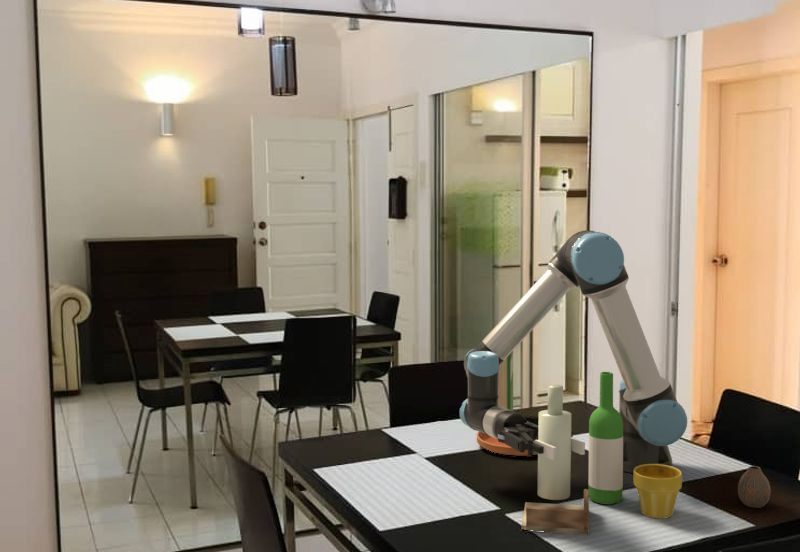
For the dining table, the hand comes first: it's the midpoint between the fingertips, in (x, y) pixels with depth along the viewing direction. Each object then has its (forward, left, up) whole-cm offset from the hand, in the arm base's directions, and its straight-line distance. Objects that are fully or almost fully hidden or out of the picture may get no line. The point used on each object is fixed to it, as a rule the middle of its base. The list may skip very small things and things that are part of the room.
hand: (569, 451), depth 187 cm
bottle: (+3, -4, -11) cm, 12 cm away
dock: (+3, -4, -17) cm, 18 cm away
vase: (-41, -21, -17) cm, 49 cm away
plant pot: (-19, -12, -17) cm, 28 cm away
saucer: (+15, -58, -17) cm, 62 cm away
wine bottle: (-8, -19, -17) cm, 27 cm away
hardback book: (+22, -82, -17) cm, 86 cm away
